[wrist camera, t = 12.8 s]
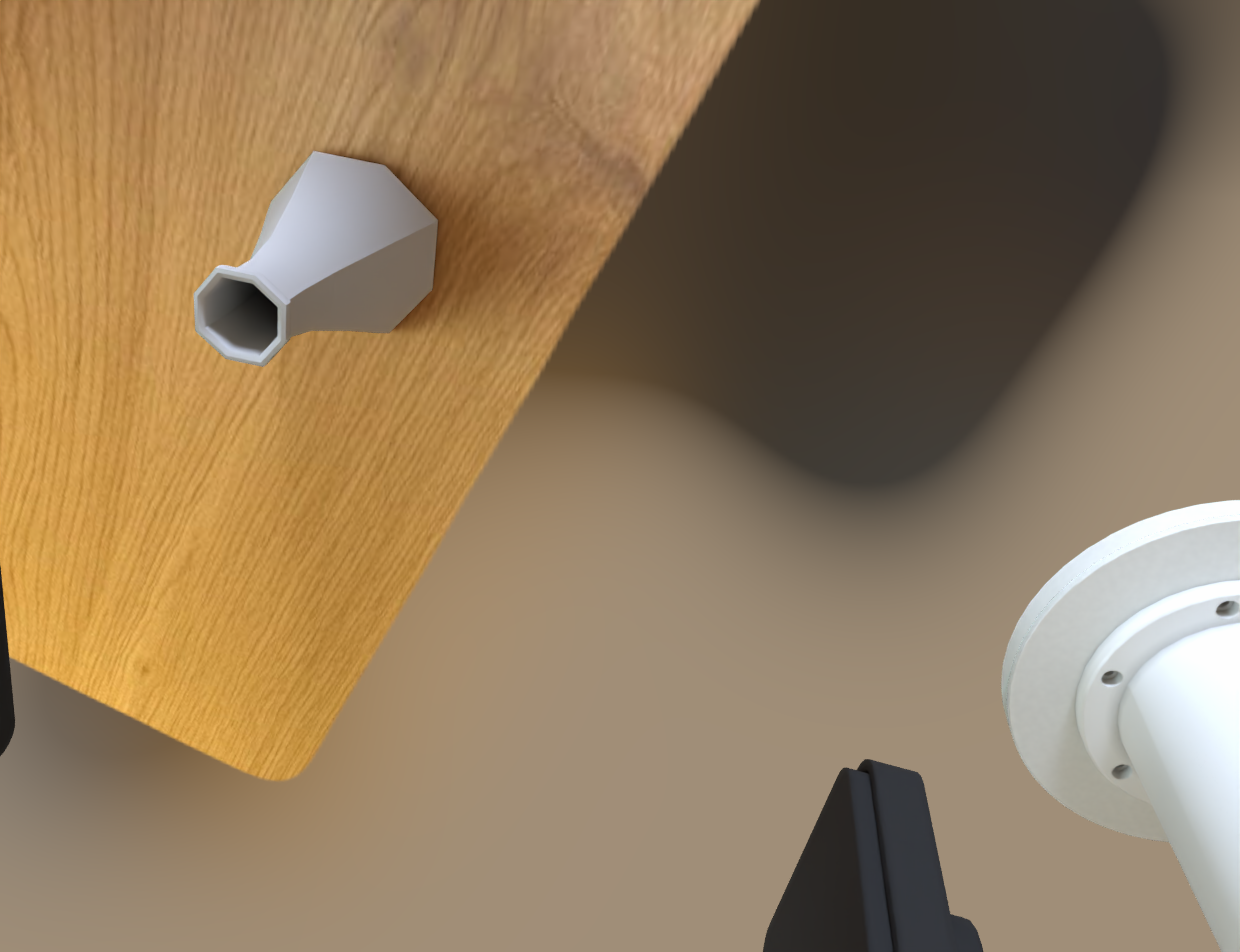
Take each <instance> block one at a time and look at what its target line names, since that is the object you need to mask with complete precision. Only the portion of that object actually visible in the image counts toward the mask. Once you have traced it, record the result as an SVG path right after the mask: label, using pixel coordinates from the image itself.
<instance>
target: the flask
mask: <svg viewBox="0 0 1240 952" xmlns="http://www.w3.org/2000/svg"><path fill="white" fill-rule="evenodd" d="M437 228H438V220H437V219H436V218H435V217H434V216H433V215H432V214H431V213H430V211H429V210H428V209H427V208H426V207H425V206H424V205H423V204H422V203H421V202H420V201H419V200H418V199H417V198H416V197H415V196H414V195H413V194H412V193H411V192H410V191H409V190H408V189H407V188H406V187H405V186H404V185H403V184H402V183H401V182H400V180H399V179H398V178H397V177H396V176H395V175H394V174H393V173H392V172H391V171H390V170H389V169H388V168H387V167H386V166H385V165H381V164H376V163H371V162H366V161H361V160H357V159H352V158H347V157H342V156H337V155H332V154H327V153H322V152H317V151H313V153H312V154H311V155H310V156H309V157H308V158H307V160H306V161H305V162H304V163H303V164H302V166H301V167H300V168H299V169H298V170H297V171H296V173H295V174H294V175H293V176H292V177H291V178H290V180H289V181H288V182H287V183H286V184H285V186H284V187H283V188H282V189H281V190H280V191H279V193H278V194H277V195H276V196H275V197H274V199H273V200H272V201H271V204H270V206H269V209H268V212H267V215H266V218H265V222H264V225H263V228H262V231H261V234H260V237H259V239H258V242H257V244H256V247H255V249H254V251H253V254H252V256H251V259H250V260H249V261H248V262H246V263H244V264H242V265H241V266H239V267H237V268H236V267H231V266H226V265H219V266H217V267H216V268H215V269H214V270H213V272H212V273H211V274H210V275H209V276H208V277H207V279H206V280H205V281H204V282H203V283H202V285H201V286H200V287H199V288H198V289H197V290H196V292H195V293H194V310H195V331H196V332H197V333H198V334H199V335H200V336H201V337H203V338H204V339H205V340H206V341H207V342H208V343H209V344H210V345H211V346H212V347H213V348H215V349H216V350H217V351H218V352H219V353H220V354H221V355H222V356H223V357H224V358H225V359H229V360H233V361H238V362H243V363H248V364H252V365H257V366H262V367H264V366H265V365H267V364H268V362H269V361H270V360H271V359H272V358H273V357H274V356H275V355H276V354H277V353H278V352H279V351H280V350H281V349H282V348H283V346H284V345H285V344H286V343H287V342H288V341H289V340H290V338H291V337H292V336H296V335H299V334H302V333H306V332H309V331H358V332H371V333H390V332H391V331H392V330H393V329H394V328H395V327H396V326H397V325H398V324H399V323H400V322H401V321H402V320H403V319H404V318H405V317H406V316H407V315H408V314H409V313H410V312H411V311H412V310H413V309H414V308H415V307H416V306H417V305H418V304H419V303H420V302H421V301H422V300H423V299H424V298H425V297H426V296H427V295H428V293H429V292H430V291H431V290H432V289H433V278H434V266H435V253H436V241H437Z"/></svg>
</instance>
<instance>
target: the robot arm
mask: <svg viewBox="0 0 1240 952" xmlns="http://www.w3.org/2000/svg"><path fill="white" fill-rule="evenodd" d="M1075 713H1076V720H1077V728H1078V730H1079V733H1080V735H1081V738H1082V741H1083V743H1084V746H1085V748H1086V750H1087V752H1088V754H1089V756H1090V757H1091V759H1092V761H1093V763H1094V764H1095V766H1096V768H1097V769H1098V770H1099V771H1100V772H1101V773H1102V774H1103V775H1104V776H1105V778H1106V779H1107V780H1109V781H1110V782H1111V783H1112V784H1114V785H1115V786H1117V787H1118V788H1120V789H1121V790H1122V791H1124V792H1125V793H1127V794H1128V795H1130V796H1132V797H1134V798H1137V799H1139V800H1141V801H1143V802H1146V803H1148V804H1150V805H1152V806H1153V809H1154V811H1155V813H1156V815H1157V817H1158V819H1159V821H1160V823H1161V825H1162V828H1163V830H1164V832H1165V834H1166V836H1167V838H1168V840H1169V842H1170V844H1171V846H1172V849H1173V851H1174V852H1175V855H1176V857H1177V859H1178V861H1179V863H1180V865H1181V868H1182V870H1183V872H1184V874H1185V876H1186V878H1187V880H1188V882H1189V884H1190V887H1191V889H1192V891H1193V893H1194V895H1195V897H1196V899H1197V901H1198V903H1199V905H1200V908H1201V910H1202V912H1203V914H1204V916H1205V918H1206V920H1207V922H1208V924H1209V926H1210V929H1211V931H1212V933H1213V935H1214V937H1215V939H1216V941H1217V943H1218V945H1219V948H1220V950H1221V952H1240V580H1235V581H1223V582H1218V583H1213V584H1208V585H1203V586H1198V587H1194V588H1191V589H1188V590H1186V591H1183V592H1180V593H1177V594H1174V595H1171V596H1168V597H1166V598H1164V599H1162V600H1160V601H1158V602H1156V603H1154V604H1152V605H1150V606H1148V607H1147V608H1145V609H1143V610H1141V611H1139V612H1138V613H1136V614H1135V615H1134V616H1132V617H1131V618H1129V619H1128V620H1127V621H1125V622H1124V623H1123V624H1121V625H1120V626H1119V627H1117V628H1116V629H1115V630H1114V631H1113V632H1112V633H1111V634H1110V635H1109V636H1108V637H1107V638H1106V640H1105V641H1104V642H1103V643H1102V644H1101V645H1100V646H1099V647H1098V648H1097V650H1096V651H1095V653H1094V654H1093V656H1092V657H1091V659H1090V661H1089V662H1088V664H1087V665H1086V667H1085V669H1084V672H1083V674H1082V677H1081V680H1080V682H1079V685H1078V687H1077V695H1076V703H1075ZM14 728H15V717H14V705H13V694H12V685H11V674H10V663H9V652H8V641H7V631H6V620H5V609H4V599H3V588H2V577H1V567H0V756H1V755H2V753H3V752H4V751H5V749H6V748H7V746H8V744H9V742H10V740H11V738H12V735H13V732H14ZM763 952H983V948H982V944H981V941H980V938H979V935H978V932H977V930H976V928H975V927H974V925H973V924H972V923H971V921H970V920H968V919H965V918H962V917H959V916H954V915H951V914H950V911H949V906H948V901H947V897H946V891H945V886H944V881H943V876H942V871H941V867H940V861H939V856H938V852H937V847H936V842H935V837H934V832H933V827H932V822H931V817H930V812H929V807H928V803H927V797H926V793H925V788H924V783H923V780H922V777H921V776H920V775H919V774H918V772H914V771H911V770H907V769H903V768H899V767H896V766H892V765H888V764H884V763H881V762H877V761H873V760H869V759H865V760H864V761H863V762H862V763H861V764H860V766H859V767H858V769H857V770H853V769H849V768H843V769H842V770H841V771H840V773H839V775H838V777H837V779H836V781H835V783H834V785H833V788H832V790H831V792H830V794H829V796H828V799H827V801H826V803H825V805H824V807H823V809H822V811H821V814H820V816H819V818H818V820H817V822H816V825H815V827H814V829H813V831H812V833H811V835H810V838H809V840H808V842H807V844H806V847H805V849H804V851H803V853H802V855H801V857H800V859H799V862H798V864H797V866H796V868H795V870H794V872H793V875H792V877H791V879H790V881H789V883H788V885H787V888H786V890H785V892H784V894H783V896H782V899H781V901H780V903H779V905H778V907H777V909H776V912H775V914H774V916H773V918H772V920H771V923H770V925H769V927H768V930H767V934H766V938H765V943H764V949H763Z"/></svg>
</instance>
